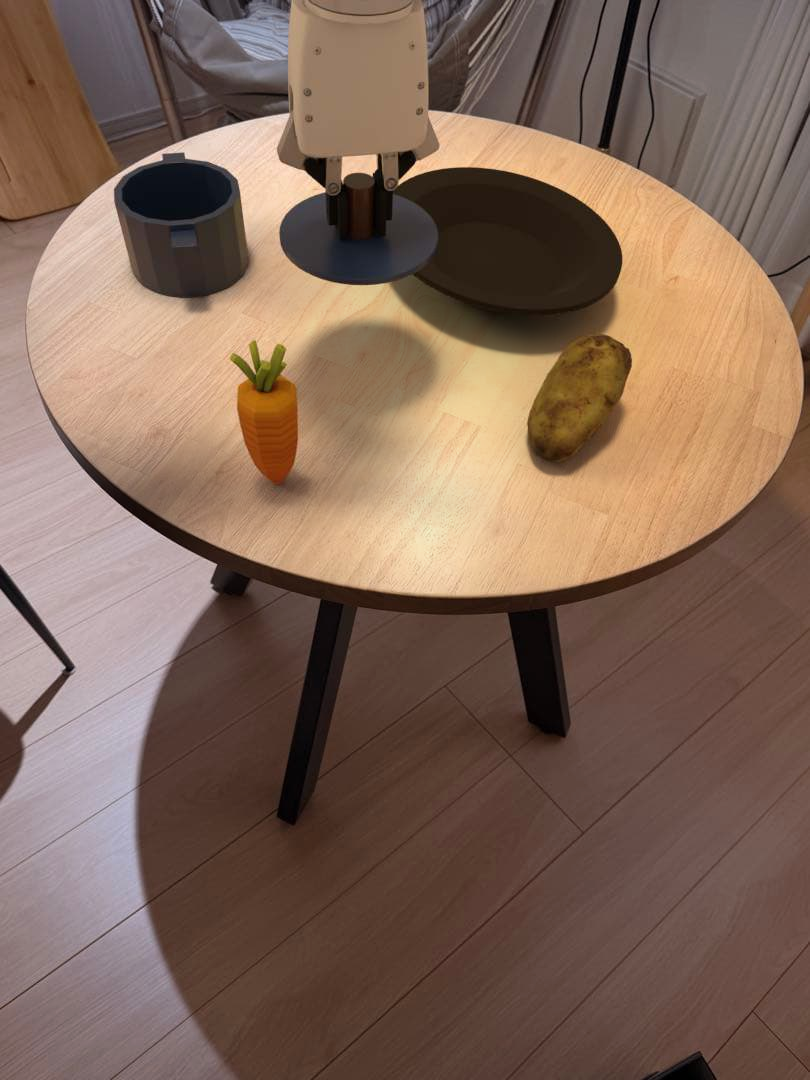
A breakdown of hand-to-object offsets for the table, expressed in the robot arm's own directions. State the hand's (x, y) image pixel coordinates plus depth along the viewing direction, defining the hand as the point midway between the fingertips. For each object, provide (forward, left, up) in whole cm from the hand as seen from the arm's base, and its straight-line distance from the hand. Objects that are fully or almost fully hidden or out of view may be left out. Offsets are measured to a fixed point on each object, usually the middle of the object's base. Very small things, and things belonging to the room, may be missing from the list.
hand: (359, 227), depth 67 cm
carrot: (-10, -14, -15) cm, 23 cm away
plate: (+18, +12, -15) cm, 26 cm away
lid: (0, 0, -1) cm, 1 cm away
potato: (+18, -12, -15) cm, 26 cm away
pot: (-15, +20, -15) cm, 29 cm away
